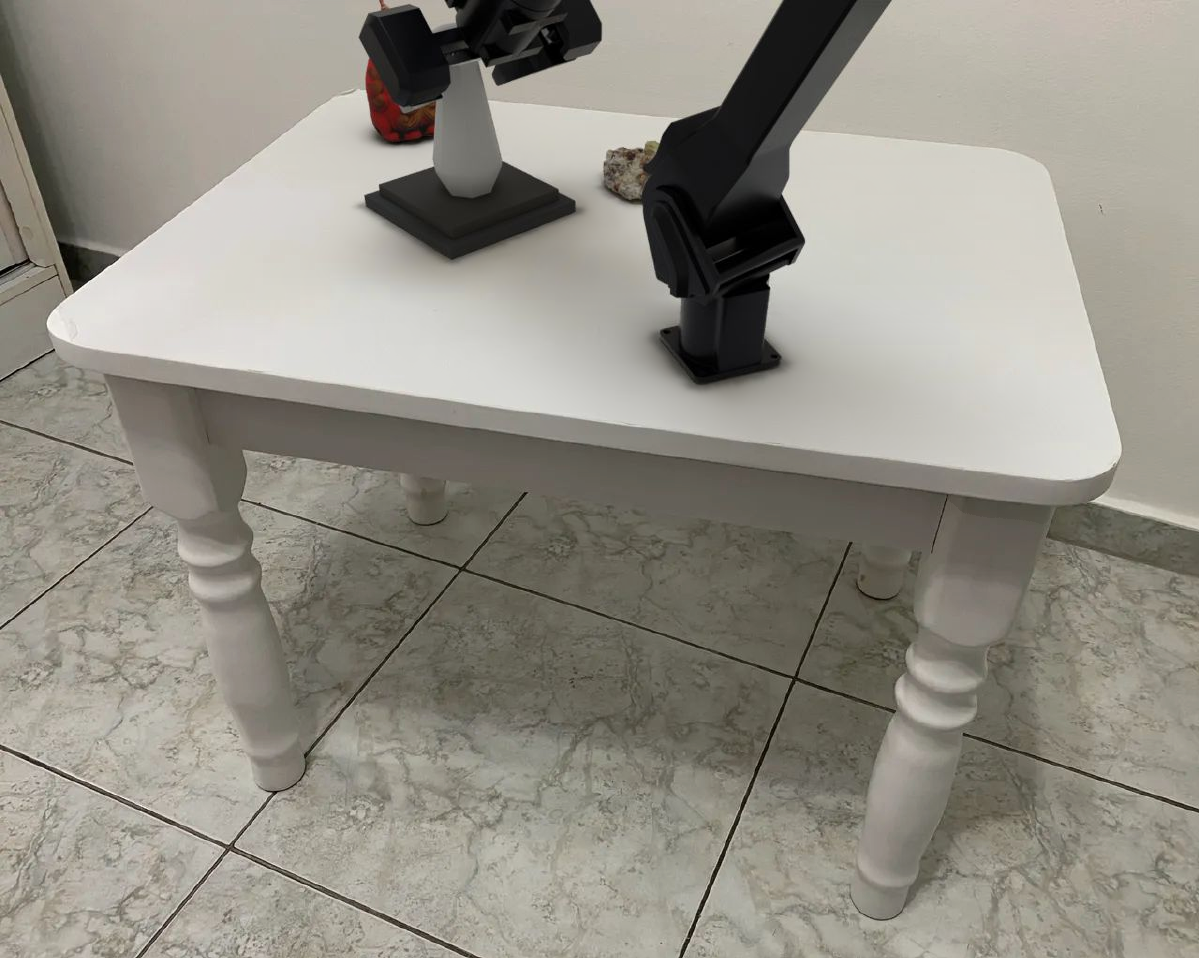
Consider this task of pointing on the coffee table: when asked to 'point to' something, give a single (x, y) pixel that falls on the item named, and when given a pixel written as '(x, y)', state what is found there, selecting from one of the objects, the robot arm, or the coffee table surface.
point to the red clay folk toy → (395, 110)
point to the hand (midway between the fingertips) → (450, 93)
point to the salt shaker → (465, 133)
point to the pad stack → (468, 209)
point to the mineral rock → (628, 169)
